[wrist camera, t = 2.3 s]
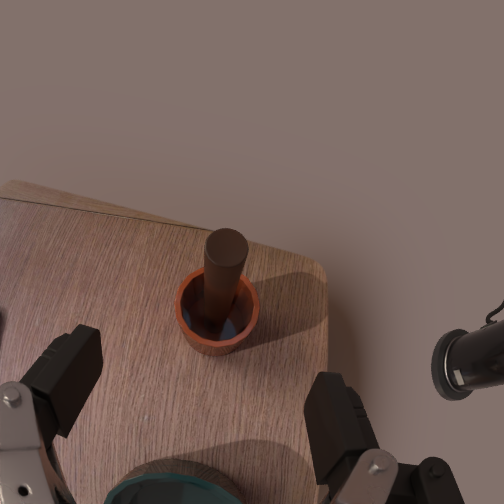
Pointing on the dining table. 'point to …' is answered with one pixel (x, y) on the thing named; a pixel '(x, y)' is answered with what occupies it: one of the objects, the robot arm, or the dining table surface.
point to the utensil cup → (237, 322)
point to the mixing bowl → (174, 485)
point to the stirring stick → (222, 275)
